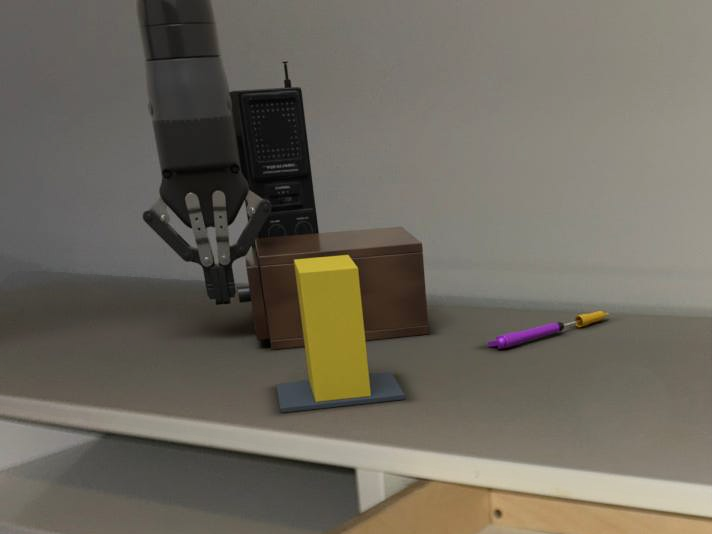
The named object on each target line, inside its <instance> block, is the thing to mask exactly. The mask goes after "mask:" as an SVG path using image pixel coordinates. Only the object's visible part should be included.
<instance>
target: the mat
mask: <svg viewBox="0 0 712 534" xmlns="http://www.w3.org/2000/svg"><path fill="white" fill-rule="evenodd" d="M369 381H370V391H371V396H369V397H359V398H350V399H341V400H332V401H323V402H315V398H314V395H313V392H312V388H311V385H310V381H309V379H308V380H297V381H289V382H278V383H276V384H275V386H276V391H277V399H278V403H279V410H280V413H282V414H283V413H292V412H303V411H310V410H312V411H313V410H321V409H329V408H339V407H348V406H349V407H350V406H357V405H366V404H376V403H384V402H394V401H404V400H406V396H405V393H404V391H403V389H402V388H401V386H400V384H399V382H398V381H397V379H396V378H395V376H394V374H393V372H392V371H384V372H374V373H369Z"/></svg>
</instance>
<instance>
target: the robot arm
mask: <svg viewBox="0 0 712 534" xmlns="http://www.w3.org/2000/svg"><path fill="white" fill-rule="evenodd" d="M134 7H135V18H136V24H137V29H138V34H139V39H140V45H141V52H142V57H143V61H144V62H143V64H144V73H145V75H144V76H145V89H146V95H147V101H148V103H147V108H148V112H149V115H150V118H151V123H152V124H151V125H152V129H153V134H154V140H155V146H156V151H157V156H158V161H159V168H160V174H161V182H160V185H159V189H158V193H159V197H158V198H157V199H156V201H154V203H153V204H152V205H151V206H150V207H148V208H146V209H145V210H144V211H143V213H142V220H143V221H144V222H145V224H146V225H148V226H149V228H150V229H152V231H154V233H156V234H157V235H158V236H159V238H160V239H162V241H163V242H165V244H167V245H168V246H169V248H171V249H172V250H173V251H174V252H175V253H176V255H177V256H179V257H180V258H181V259H182V260H183V261H184V262H186V263H189V262H191V263H195V264H198V265H199V266H201V268H202V272H203V277H204V283H205V289H206V295H207V297H208V299H209V300H215V305H216V306H219V305H221V306H222V305H231V303H232V302H231V298H235V297H236V293H237V290H236V283H235V277H234V270H233V264H234V262H235V261H236V260H238V259H240V258H245V256H246V255H247V253H248V251H249V249H252V244H253V242H254V241H255V239H256V237H257V235H258V233H259V232H260V230H261V228H262V226H263V225H264V223H265V221H266V219H267V218H268V216H269V214H270V212H271V210H272V206H271V203H270V201H269V200H268V199H263V198H261V197H260V196H258V195H257V194H255V193H254V192H252V191H251V190H249V185H248V182H247V180H246V179H245V177H244V176H243V174H242V171H241V166H240V159H239V152H238V145H237V139H236V132H235V125H234V118H233V112H232V101H231V98H230V92H231V91H230V86H229V81H228V78H227V74H226V71H225V67H224V62H223V58H222V51H221V43H220V36H219V30H218V24H217V23H218V22H217V18H216V13H215V8H214V3H213V0H135V1H134ZM245 199H246V200H247V202H248V206H247V212H246V214H247V213H248V215H249V216H250V217H251V218H250V219H249V221H248V220H247V223H246V225H245V227H244V228H243V230H242V232H241V234H240V235H239V237H238V239H237V240H236V242H235V243H234V244H232V245H230V235H229V227H230V226H231V225H232V224H233V223H235V220H236V218H237V216H238V215H239V212H240V210H241V209H242V206H243V205H244V204H245ZM167 207H168V209H170V211H171V212H173V214H174V215H175V216H176V217H177V218H178V219H179V220H180V221H181V222H182V223H183V224H184V226H185V227H187V228H189V229H191V230H192V232H193V237H194V241H195V243H196V247H193V246H192V245H190V244H189V242H188V241H186V240H185V239H184V238H183V236H181V234H179V233H178V231H177V230H175V228H174V227H173V226H171V224H169V223H170V221H171V215H170V213H169V212H168V211H167ZM208 228H214V231H215V240H216V241H215V242H216V251H217V260H218V261H217V262H218V263H216V262H215V255H214V253H213V249H212V244H211V241H210V240H211V239H210V236H209V232H208V231H209V230H208Z"/></svg>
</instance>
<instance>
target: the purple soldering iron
mask: <svg viewBox="0 0 712 534" xmlns="http://www.w3.org/2000/svg"><path fill="white" fill-rule="evenodd" d="M606 316H607V317H608V316H610V311H609V312H603V311H602V310H598V311H594V312H590V313H583V314H578V315H576V316H575V317H574V321H571V322H567V323H563V322H561V321H557V322H551V323H548V324H544V325H540V326H536V327H533V328H529V329H526V330H525V329H524V330H522V331H513V332H508V333H504V334H501V335H497V336H496V337H495V339H494V340H490V341H487V346H488V348H492V347H497V349H498V350H504V349H507V348H512V347H514V346H519V345H521V343H525V342H529V341H532V340H536V339H540V338H543V337H547V336H551V335H555V334H558V333H560V332H562V331H564V329H565V327H568V326H573V325H575V326H576V328H583V327H586V326H589V325H591V324H594V323H598V322H601V321H603V320H604V319H605V317H606Z"/></svg>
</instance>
